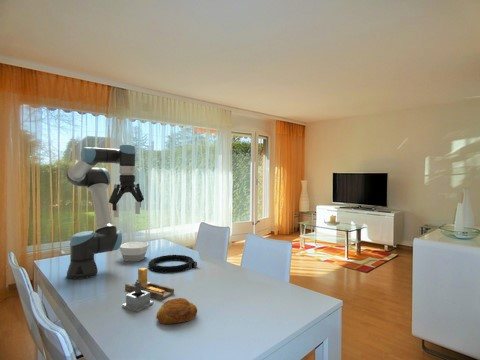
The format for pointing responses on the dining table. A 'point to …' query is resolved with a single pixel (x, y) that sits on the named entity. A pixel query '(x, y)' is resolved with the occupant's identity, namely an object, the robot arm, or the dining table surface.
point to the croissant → (176, 311)
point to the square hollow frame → (138, 299)
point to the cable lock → (188, 265)
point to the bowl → (133, 250)
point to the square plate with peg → (137, 293)
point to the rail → (154, 294)
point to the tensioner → (144, 284)
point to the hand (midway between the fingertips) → (127, 215)
